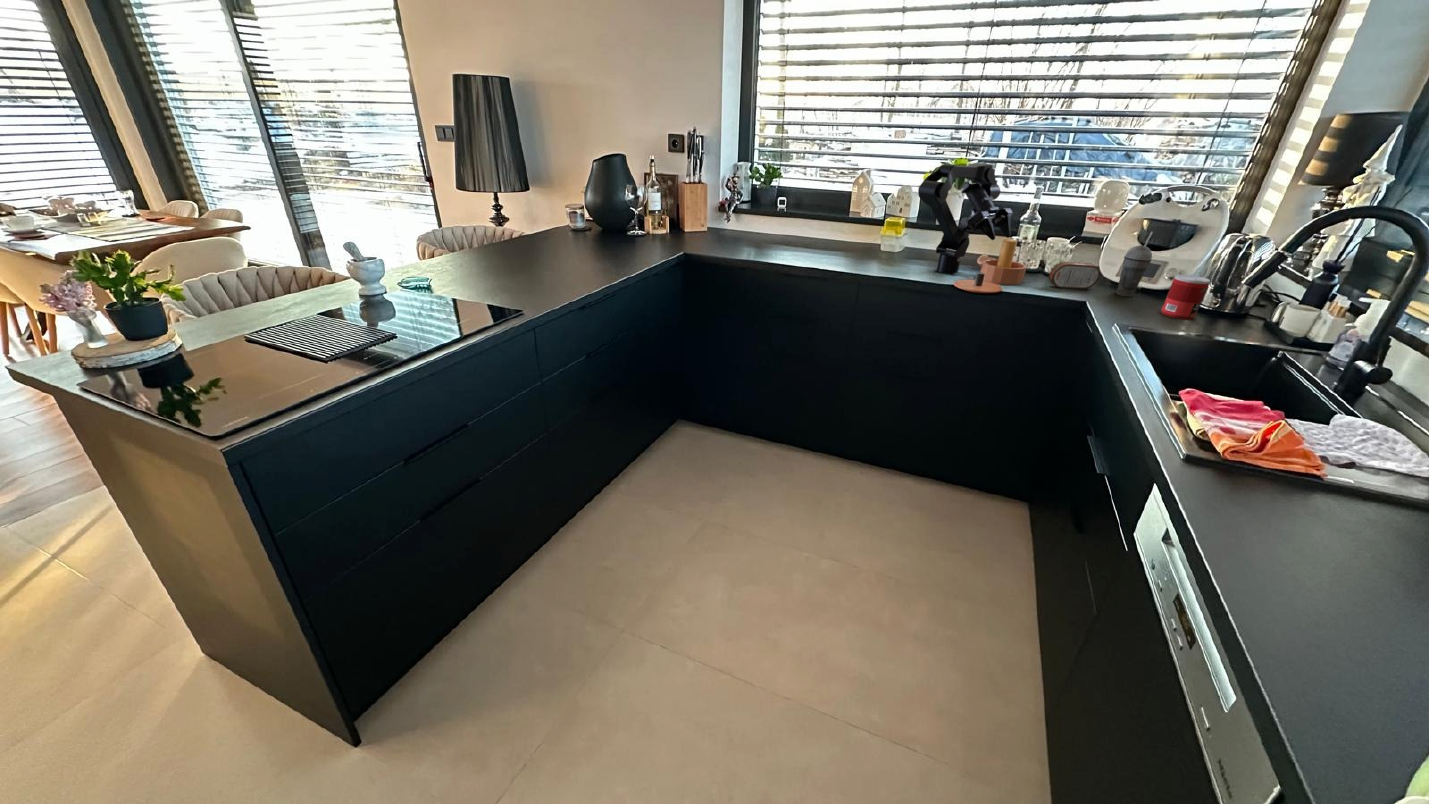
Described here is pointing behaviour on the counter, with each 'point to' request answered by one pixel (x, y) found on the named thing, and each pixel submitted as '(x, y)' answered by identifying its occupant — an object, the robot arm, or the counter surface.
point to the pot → (1003, 273)
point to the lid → (978, 285)
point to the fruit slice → (984, 257)
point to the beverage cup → (1134, 269)
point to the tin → (1074, 275)
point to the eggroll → (1006, 253)
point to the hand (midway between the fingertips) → (1001, 238)
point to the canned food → (1185, 296)
